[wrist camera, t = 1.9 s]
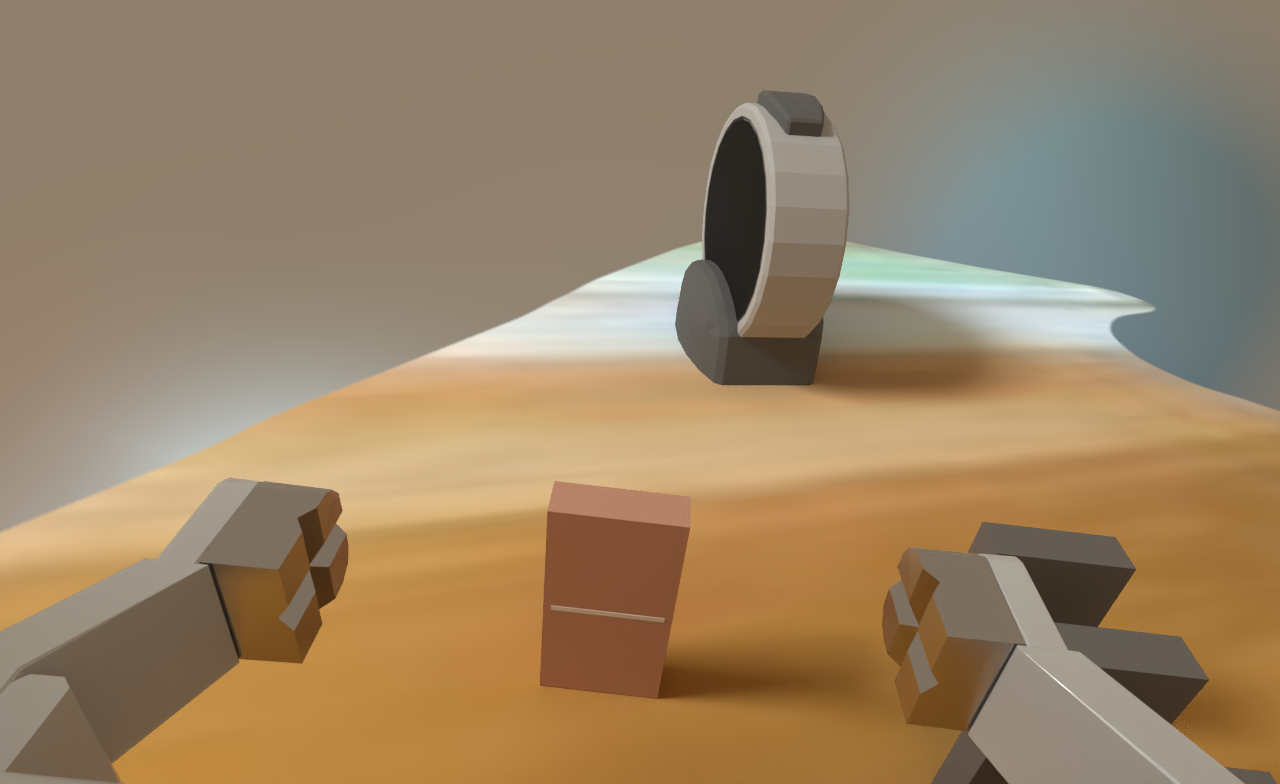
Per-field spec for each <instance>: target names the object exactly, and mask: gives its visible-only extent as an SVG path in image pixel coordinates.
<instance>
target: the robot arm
mask: <svg viewBox="0 0 1280 784" xmlns="http://www.w3.org/2000/svg"><path fill="white" fill-rule="evenodd" d="M341 513H342V507H341V503H340V498H339V494H338V493H337V492H335V491H333V490H330V489H322V488H314V487H306V486H298V485H290V484H282V483H273V482H265V481H264V482H258V481H251V480H243V479H236V478H228V479H226V480H224V481H221V482H220V483H218V484H217V486H216V487H215V488H214V489H213V490H212V492H211V493H210V494H209V495H208V497H207V498H206V499H205V500H204V501H203V503H202V504H201V505H200V506H199V508H198V509H197V510H196V511H195V512H194V514H193V515H192V516H191V517H190V519H189V520H188V521H187V522H186V523H185V525H184V526H183V527H182V528H181V530H180V531H179V532H178V533H177V534H176V536H175V537H174V538H173V539H172V541H171V542H170V543H169V544H168V546H167V547H166V548H165V549H164V550H163V552H162V553H161V554H160V555H159V557H158V558H157V559H146V558H145V559H143V560H141V561H139V562H137V563H135V564H133V565H131V566H129V567H127V568H125V569H123V570H121V571H119V572H117V573H115V574H113V575H111V576H109V577H107V578H105V579H103V580H101V581H99V582H97V583H95V584H94V585H92V586H90V587H88V588H86V589H84V590H82V591H80V592H78V593H76V594H74V595H72V596H70V597H68V598H66V599H64V600H62V601H60V602H58V603H56V604H54V605H52V606H50V607H48V608H46V609H44V610H42V611H40V612H38V613H36V614H34V615H32V616H30V617H28V618H26V619H24V620H22V621H20V622H18V623H16V624H14V625H12V626H10V627H8V628H6V629H4V630H2V631H0V784H124V783H122V782H121V780H120V778H119V776H118V774H117V773H116V771H115V769H114V767H113V765H112V763H113V762H115V761H116V760H117V759H118V758H120V757H121V756H122V755H123V754H125V753H126V752H127V751H128V750H130V749H131V748H132V747H133V746H135V745H136V744H137V743H138V742H140V741H141V740H142V739H144V738H145V737H146V736H147V735H149V734H150V733H151V732H152V731H154V730H155V729H156V728H157V727H159V726H160V725H161V724H162V723H164V722H165V721H166V720H168V719H169V718H170V717H171V716H173V715H174V714H175V713H176V712H178V711H179V710H180V709H181V708H183V707H184V706H185V705H186V704H188V703H189V702H190V701H191V700H193V699H194V698H195V697H197V696H198V695H199V694H200V693H202V692H203V691H204V690H205V689H207V688H208V687H209V686H210V685H212V684H213V683H214V682H215V681H217V680H218V679H219V678H220V677H222V676H223V675H224V674H226V673H227V672H228V671H229V670H231V669H232V668H233V667H234V666H236V665H237V664H238V663H239V659H246V660H260V661H274V662H288V663H302V662H303V661H304V659H305V657H306V655H307V653H308V651H309V649H310V647H311V645H312V643H313V641H314V639H315V637H316V635H317V633H318V631H319V629H320V627H321V625H322V620H321V616H320V611H319V609H320V608H322V607H323V606H325V605H326V604H328V603H329V602H331V601H332V600H334V599H335V598H336V596H337V594H338V592H339V589H340V587H341V585H342V583H343V580H344V576H345V572H346V568H347V564H348V541H347V535H346V533H345V532H344V531H343V530H342V529H341V528H340V527H339V526H338V525H337V524H336V522H337V520H338V518H339V516H340V514H341ZM898 569H899V572H900V575H901V579H902V580H901V581H900V582H898V583H897V584H895V585H894V586H892V587H891V588H889V591H888V594H887V597H886V600H885V603H884V608H883V619H882V627H883V637H884V642H885V646H886V650H887V654H888V655H889V656H890V657H891V658H892V659H893V660H894V661H895V662H896V663H897V664H898V665H899V666H900V667H901V668H900V670H899V672H898V675H897V677H896V680H895V684H896V687H897V691H898V694H899V698H900V702H901V705H902V709H903V712H904V716H905V720H906V723H907V724H913V725H921V726H929V727H937V728H945V729H953V730H960V731H968V732H969V733H968V735H969V737H970V738H971V739H972V740H973V741H974V743H975V744H976V745H977V746H978V747H979V749H980V750H981V751H982V752H983V753H984V755H985V756H986V757H987V758H988V759H989V761H990V762H991V763H992V764H993V765H994V767H995V768H996V769H997V770H998V771H999V773H1000V774H1001V775H1002V776H1003V777H1004V779H1005V780H1006V781H1007V782H1008V783H1009V784H1245V783H1243V782H1242V781H1241V780H1240V779H1238V778H1237V777H1236V776H1235V775H1233V774H1232V773H1231V772H1230V771H1228V770H1227V769H1226V768H1225V767H1223V766H1222V765H1221V764H1220V763H1218V762H1217V761H1216V760H1215V759H1213V758H1212V757H1211V756H1210V755H1208V754H1207V753H1206V752H1205V751H1203V750H1202V749H1201V748H1200V747H1198V746H1197V745H1196V744H1195V743H1193V742H1192V741H1191V740H1190V739H1188V738H1187V737H1186V736H1185V735H1183V734H1182V733H1181V732H1180V731H1178V730H1177V729H1176V728H1175V727H1173V726H1172V725H1171V724H1169V723H1168V722H1167V721H1166V720H1164V719H1163V718H1162V717H1161V716H1159V715H1158V714H1157V713H1156V712H1154V711H1153V710H1152V709H1151V708H1149V707H1148V706H1147V705H1146V704H1144V703H1143V702H1142V701H1141V700H1139V699H1138V698H1137V697H1136V696H1134V695H1133V694H1132V693H1131V692H1129V691H1128V690H1127V689H1126V688H1124V687H1123V686H1122V685H1121V684H1119V683H1118V682H1117V681H1116V680H1114V679H1113V678H1112V677H1111V676H1109V675H1108V674H1107V673H1106V672H1104V671H1103V670H1102V669H1101V668H1099V667H1098V666H1097V665H1095V664H1094V663H1093V662H1092V661H1090V660H1089V659H1088V658H1087V657H1085V656H1084V655H1083V654H1082V653H1080V652H1077V651H1069V650H1068V648H1067V647H1066V645H1065V643H1064V641H1063V639H1062V637H1061V635H1060V633H1059V631H1058V629H1057V627H1056V625H1055V624H1054V622H1053V620H1052V618H1051V616H1050V614H1049V612H1048V610H1047V608H1046V606H1045V604H1044V602H1043V601H1042V599H1041V597H1040V595H1039V593H1038V591H1037V589H1036V587H1035V585H1034V583H1033V581H1032V579H1031V578H1030V576H1029V574H1028V572H1027V570H1026V568H1025V566H1024V564H1023V563H1022V561H1020V560H1019V559H1018V558H1017V557H1015V556H1003V555H991V554H975V553H965V552H954V551H943V550H932V549H921V548H910V547H909V548H908V549H907V550H906V551H905V552H904V553H903V555H902V558H901V560H900V563H899V565H898Z"/></svg>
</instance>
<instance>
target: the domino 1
mask: <svg viewBox="0 0 1280 784" xmlns="http://www.w3.org/2000/svg"><path fill="white" fill-rule="evenodd" d="M689 530H690V497H687V496H678V495H669V494H661V493H652V492H644V491H635V490H626V489H618V488H609V487H600V486H592V485H583V484H575V483H566V482H557V481H555V482H554V486H553V490H552V494H551V499H550V503H549V507H548V513H547V536H546V558H545V581H544V603H543V626H542V648H541V671H540V685H542V686H551V687H560V688H569V689H577V690H586V691H595V692H604V693H613V694H621V695H630V696H639V697H648V698H658V692H659V687H660V682H661V677H662V672H663V666H664V661H665V656H666V651H667V645H668V640H669V635H670V630H671V624H672V619H673V614H674V609H675V604H676V598H677V593H678V588H679V583H680V577H681V572H682V567H683V562H684V557H685V551H686V546H687V541H688V536H689Z"/></svg>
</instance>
